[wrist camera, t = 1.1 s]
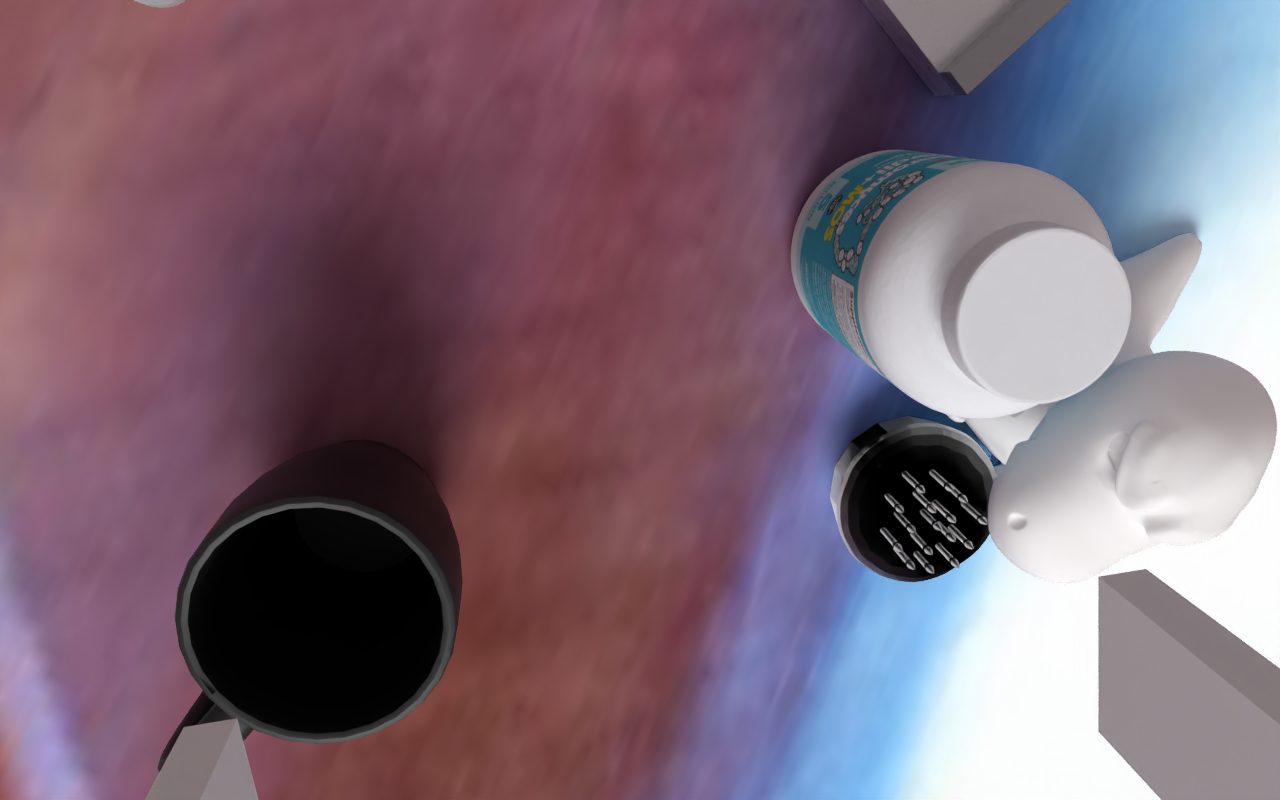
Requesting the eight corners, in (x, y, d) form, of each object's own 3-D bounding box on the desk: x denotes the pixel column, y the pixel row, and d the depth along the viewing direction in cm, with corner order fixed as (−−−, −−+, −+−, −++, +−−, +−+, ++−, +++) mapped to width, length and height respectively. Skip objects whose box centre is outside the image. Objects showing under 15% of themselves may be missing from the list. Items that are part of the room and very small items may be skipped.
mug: (143, 587, 41) (33, 726, 32) (348, 361, 39) (295, 438, 30) (315, 710, 43) (258, 874, 34) (515, 499, 41) (513, 611, 32)
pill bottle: (939, 115, 39) (1145, 119, 26) (1000, 296, 41) (1219, 383, 28) (753, 199, 39) (866, 245, 26) (823, 376, 41) (961, 499, 28)
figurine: (772, 463, 42) (869, 604, 30) (1133, 153, 40) (1389, 172, 28) (899, 603, 44) (1037, 786, 32) (1246, 315, 43) (1528, 397, 31)
